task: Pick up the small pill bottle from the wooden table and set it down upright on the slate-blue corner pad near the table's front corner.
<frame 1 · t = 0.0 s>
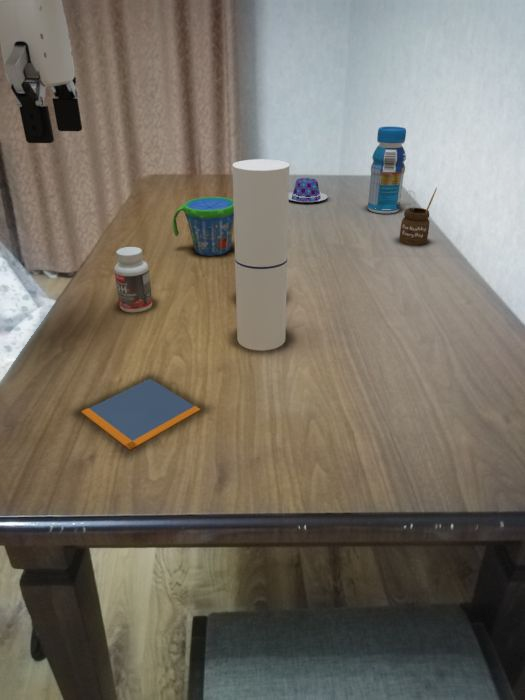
hand: (56, 136, 69), 28 cm above the table, tool pointing down, fingers open, 9 cm apart
corner pad: (141, 412, 64), on the table
purple patterned hat: (305, 199, 151), on the table
pill bottle: (136, 307, 90), on the table
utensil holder: (413, 243, 118), on the table
snack cup: (212, 252, 113), on the table
beverage bottle: (383, 210, 141), on the table
cylindrical container: (261, 340, 80), on the table
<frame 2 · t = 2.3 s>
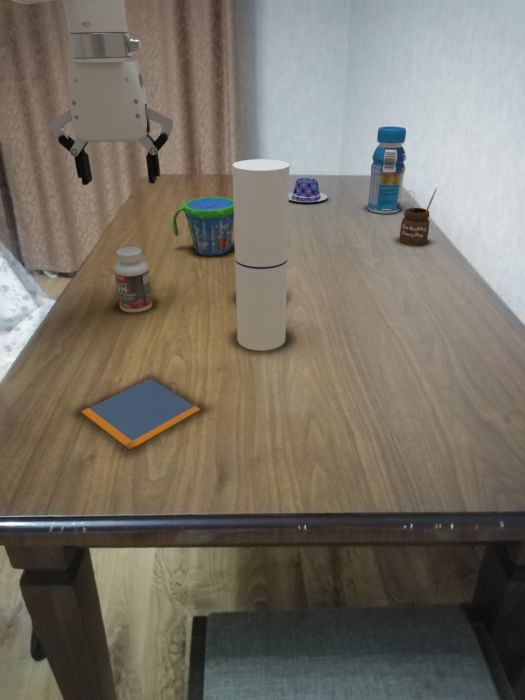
hand: (120, 182, 79), 20 cm above the table, tool pointing down, fingers open, 9 cm apart
nothing on the table moved.
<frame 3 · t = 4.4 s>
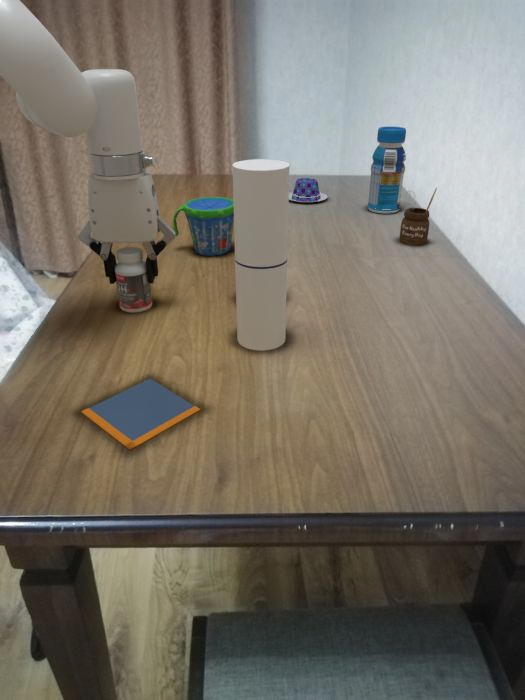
hand: (132, 279, 87), 5 cm above the table, tool pointing down, fingers closed on pill bottle, 5 cm apart
pill bottle: (136, 307, 90), on the table, touching gripper
everything else where it was.
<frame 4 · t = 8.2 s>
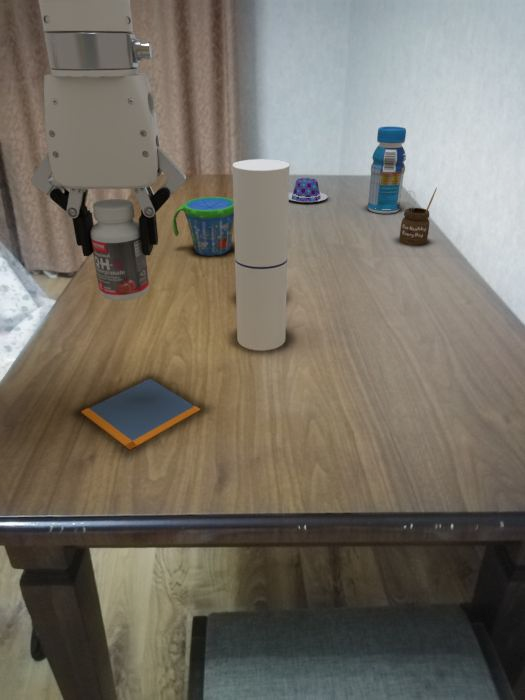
hand: (119, 249, 57), 19 cm above the table, tool pointing down, fingers closed on pill bottle, 5 cm apart
pill bottle: (125, 293, 59), point 14 cm above the table, touching gripper
everything else where it was.
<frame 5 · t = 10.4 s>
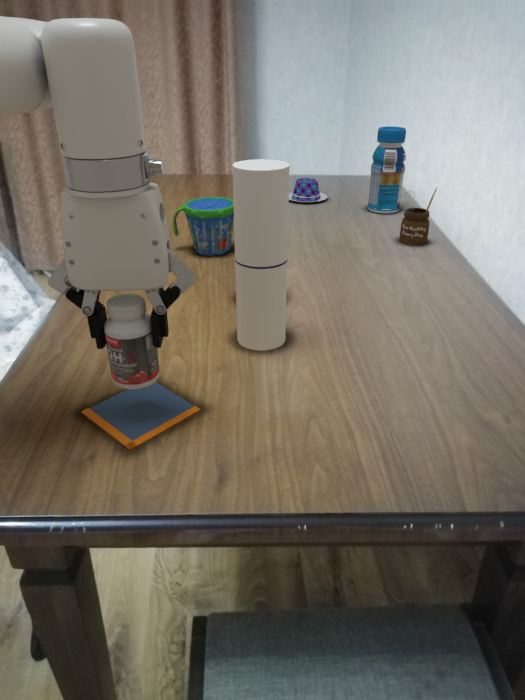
hand: (131, 341, 59), 10 cm above the table, tool pointing down, fingers closed on pill bottle, 5 cm apart
pill bottle: (137, 379, 62), point 5 cm above the table, touching gripper
everything else where it was.
when the fingers open (5 cm above the table, at t = 12.0 s): pill bottle stays where it is, resting on corner pad.
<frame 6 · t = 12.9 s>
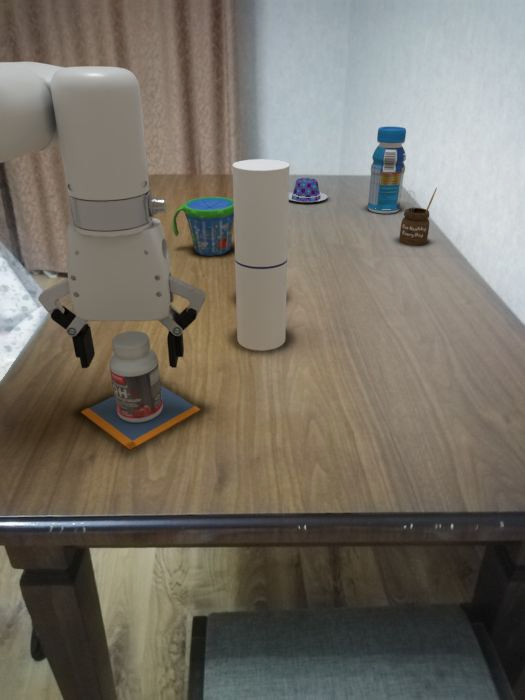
hand: (131, 361, 61), 7 cm above the table, tool pointing down, fingers open, 9 cm apart
pill bottle: (140, 411, 64), resting on corner pad
everything else where it was.
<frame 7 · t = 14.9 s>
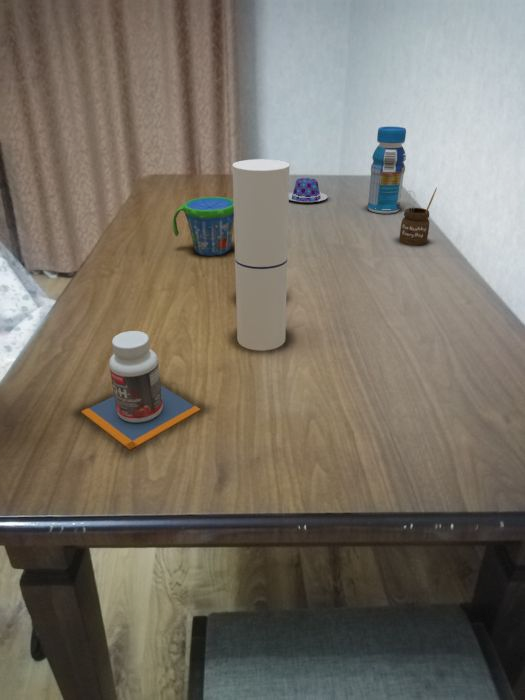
nothing on the table moved.
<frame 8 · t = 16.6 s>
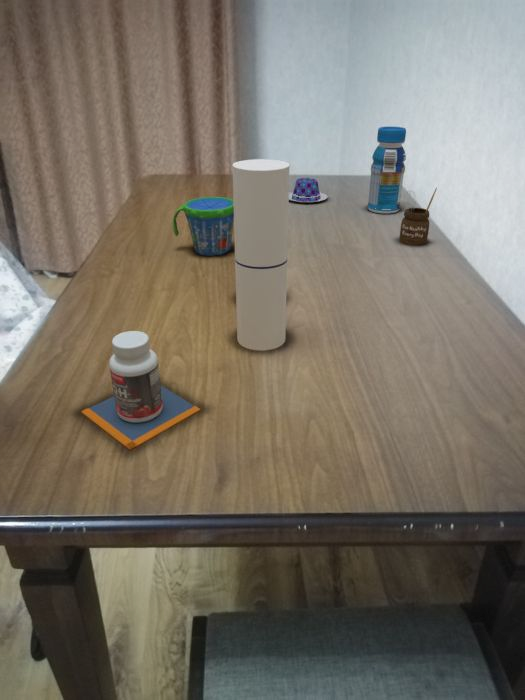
nothing on the table moved.
at the end: pill bottle inside the target area on the corner pad (0.1 cm from its centre), point 0.1 cm above the corner pad's base; pill bottle tilted 0°; the gripper is holding nothing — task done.
